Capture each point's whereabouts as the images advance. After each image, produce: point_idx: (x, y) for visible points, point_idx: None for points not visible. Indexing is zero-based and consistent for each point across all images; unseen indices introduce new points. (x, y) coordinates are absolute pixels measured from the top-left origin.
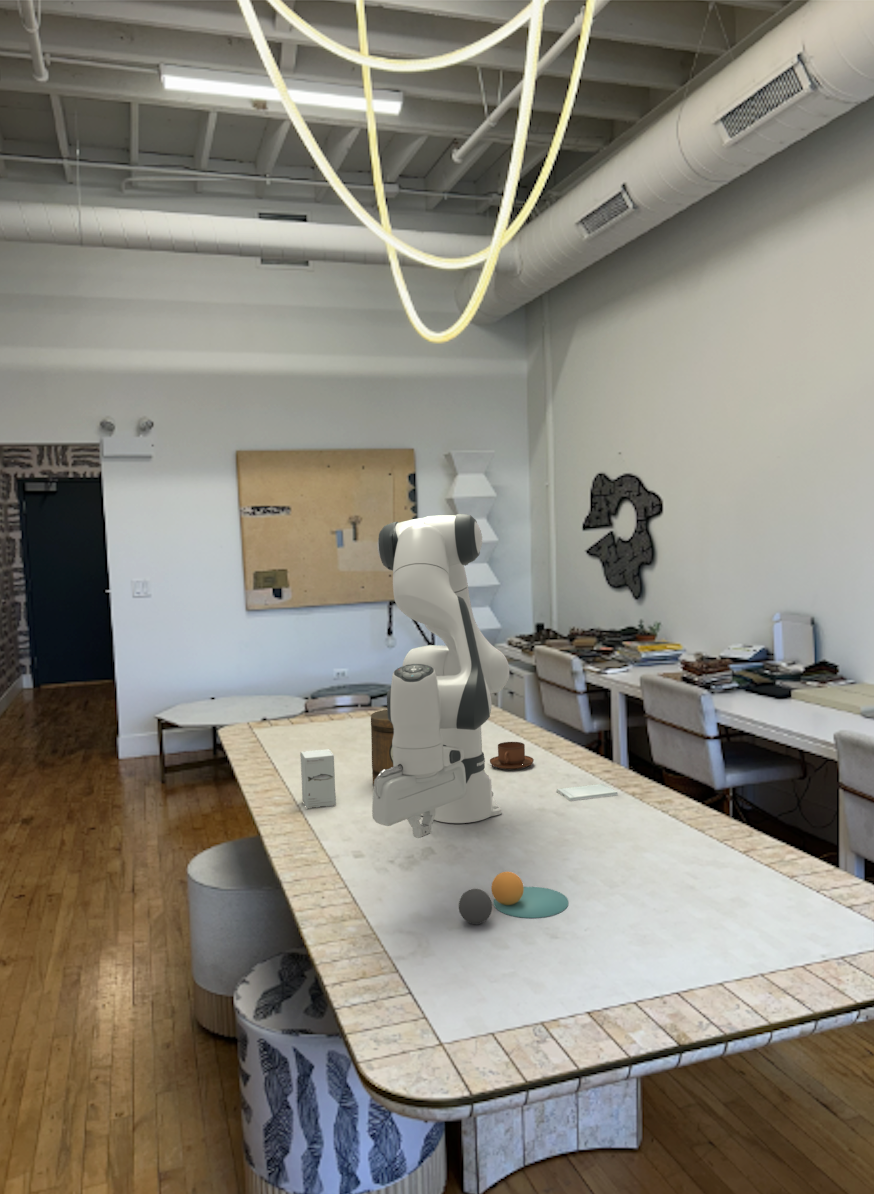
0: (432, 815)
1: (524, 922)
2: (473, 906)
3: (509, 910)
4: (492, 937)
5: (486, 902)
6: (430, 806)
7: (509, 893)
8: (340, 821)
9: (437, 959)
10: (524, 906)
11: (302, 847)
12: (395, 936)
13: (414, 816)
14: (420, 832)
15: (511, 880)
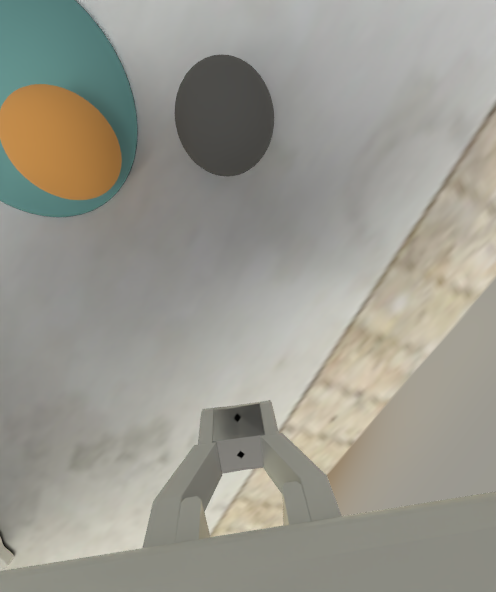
0: (181, 493)
1: (125, 13)
2: (262, 80)
3: (116, 110)
4: (256, 17)
5: (218, 55)
6: (217, 576)
7: (87, 101)
8: None
9: (430, 42)
10: None
11: None
12: (384, 220)
13: (340, 513)
14: (271, 418)
15: (45, 99)
